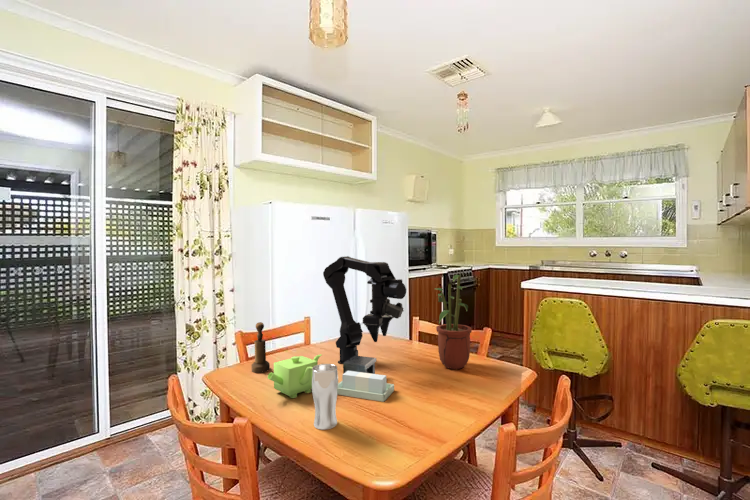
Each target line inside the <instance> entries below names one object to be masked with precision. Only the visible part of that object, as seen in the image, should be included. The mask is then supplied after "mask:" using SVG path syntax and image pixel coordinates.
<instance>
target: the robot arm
mask: <svg viewBox="0 0 750 500" xmlns="http://www.w3.org/2000/svg"><path fill="white" fill-rule="evenodd" d="M349 269H351V270H355V271H358V272H362V273H365V274H366V276H368V278H370V279H369V280H368V281H367V284H368V285H371V299H370V300H369V303H371V310H370V311H369V313H368V314H365V315H364V316H363V317H362V324H364V326H365V327H366V329H367V331H368V332H369V334H370V336H371V338H372V340H373V342H374V343H378V339H379V331H380V330H381V334H382V336H383V337H386V336H387V333H388V330H389V329H388V328H389V326H390V322H391V321H392V320H393V319H400V318H401V317H402V315H403V314H402V313H403V312H404V311H405V310H404V307H403V303H402V302H396V304H395V303H391V300H390V299H398V300H402V299H404V298H405V297H406V294H407V287H406V285H405V284H404V283H403V279H402V278H401V279H400V278H399V279H396V277H395V276H394V273H393V271H392V270H391V268H390V266H389V263H388V262H386V261H377V262H376V261H373V262H372V261H371V262H370V261H366V260H363V259H358V258H353V257H351V256H349V255H347V256H340V257H338V258H337V260H335V261H334V262H332V263H330V264H329V265H328V266H326V267H325V269H324V271H323V273H322V274H323V279H324V281H325V283H326V285H327V286H328V287H329V288H330V289H331V291H332V294H333V298H334V303H335V305H336V308H337V312H338V316H339V319H340V328H339V337H338V339H337V340H336V341H335V346H336V348H338V349H339V360H338V361H337V363H338V364H343V363H344V362H345V361H347V360H348V359H350V358H351V357H353V356H359V350H358V346H360V345H361V341H362V338H363V333H364V331H363V329H362V326H361V322H360V321H359V322H356V321H355V320H354V318H353V312H352V310H351V307H350V303H349V298H348V295H347V293H346V289H345V286H344V285H345V281H346V274H347V273H348V271H349Z"/></svg>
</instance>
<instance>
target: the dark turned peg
mask: <svg viewBox="0 0 750 500" xmlns="http://www.w3.org/2000/svg"><path fill="white" fill-rule="evenodd" d="M264 327H265V324H264V323H263V322H262V321H261V322H256V324H255V329H256V331H257V334H256V340H254V362H253V363H252V364H251V373H255V374H261V373H266V372H268V371H269V370H270V369H271V368H270V362H269V361H268V360H267V353H266V348H267V347H266V339H263V337H264V333H263V330H264Z"/></svg>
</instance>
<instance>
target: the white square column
mask: <svg viewBox="0 0 750 500" xmlns="http://www.w3.org/2000/svg"><path fill="white" fill-rule="evenodd" d="M341 378H342V379H341V381H342V383H343V388H344V389H351V390H357V391H364V392H371V393H378V394H384V393H385V392H386V391H387V383H388V382H387V375H384V374H378V373H375V374H371V373H363V372H355V371H347V372H345V373H344V374H343V373H342V377H341Z"/></svg>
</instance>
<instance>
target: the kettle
mask: <svg viewBox="0 0 750 500" xmlns="http://www.w3.org/2000/svg"><path fill="white" fill-rule="evenodd" d="M321 356H323V354H321V353H320V354H317V355H315V356H314V357H313V359H312V358H309V357H306V356H303V355H299V356H297V355H296V356H295V355H294V356H292V357H291V358H287V359H283V360H280V361H276V362H273V372H272V371H271V372H269V373H268V375H267V380H270V381H272V382H273V389H275V390H277V391H279V392H280V394H285V395H286V396H288V397H289V398H290V399H296V398H297V397H298V394H299V393H302V392H304V393H305V394H310V393H312V368H313V367H314V366H316V365H319V364H318V361H319V359H320V357H321Z"/></svg>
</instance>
